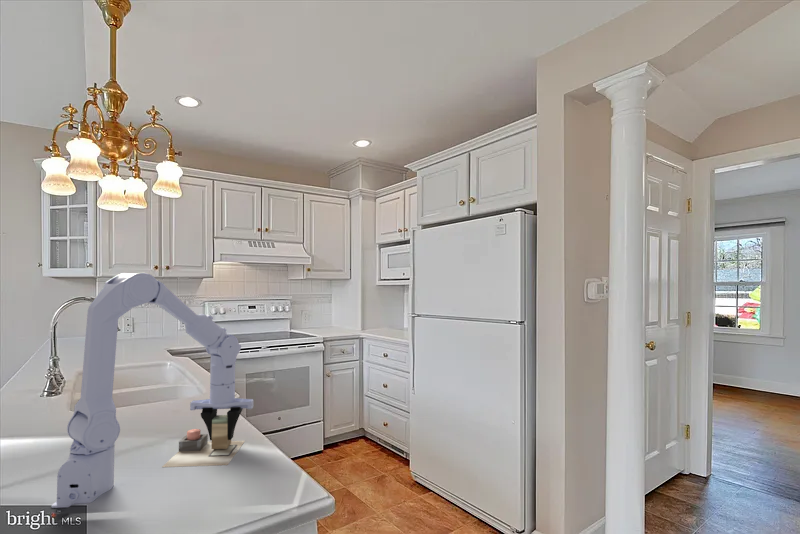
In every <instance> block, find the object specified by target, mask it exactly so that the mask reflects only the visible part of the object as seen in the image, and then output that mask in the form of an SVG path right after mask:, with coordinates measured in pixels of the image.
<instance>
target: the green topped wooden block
mask: <svg viewBox="0 0 800 534" xmlns="http://www.w3.org/2000/svg"><path fill="white" fill-rule="evenodd" d="M231 441H232V439H231V440H228V417H227V414H217V416H216V417H214V418H213V419H212V440H211V442H212V448H211V449H227V448H228V447H229V446H230V444H231Z"/></svg>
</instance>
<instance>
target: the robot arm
mask: <svg viewBox="0 0 800 534" xmlns="http://www.w3.org/2000/svg"><path fill="white" fill-rule="evenodd" d="M145 304H149V305H154V306H155V305H157V306H158V307H160V308H161V309H162V310H164V311H165V312H166V313H168V314H169V315H171V316H173V317H174V318H175V319H176V320H178V321H179V322H180V323H182V324H184V326H185V333H186V334H187V335H189V336H190V337H191V338H192V339H194V340H195V341H196V342H198V343H199V344H200V345H201V346H203V347H204V348H205V350H206V353H207V354H208V355H210V366H209V367H210V369H209V370H210V375H209V377H210V378H209V383H210V384H209V398H206V399H197V400H195V399H193V400H192V401H191V402H190V403H189V405H190V407H189V409H190V411H196V410H201V413H200V417H201V419H202V420H203V422H204V424H205V426H206V429H207V431H208V432H207V433H208V438H209V441H212V419H213V418H214V417H216V416H217V415H218V410H224V409H225V410H228V411H227V412H226V415H227V417H228V440H231V441H232V439H233V438H234V434H235V429H236V425H237V423H238V420H239V417H240V416H241V413H242V411H243V409H247V410H253V408H254V401H255V400H254V399H253V398H239V397H238V398H237V397H236V395H235V394H236V362H237V356H238V355H239V353H240V351H241V349H242V345H241V344H240V342H239V339H238V338H237V337H236V336H235V335H233V334H229V333H227V329H226V328H225V327H221V326H220V325H219V324H217V323H216V322H215V321H214V320H213V319H214V316H212V315H210V314H205V313H197V314H196V313H195V312H194V311H193V310H192V309H191V308H190V307H189V306H188V305H187V304H186V303H184V302H183V301H182V300H181V299H180V298H179V297H178V296H177V295H176V294H174V292H172V291H171V290H170V289H169V288H168V287H167V285H165V283H164V282H162V281H160V280H158V279H156V277H154V275H152V274H150V273H147V272H137V273H127V272H122V273H120V274H117V275H115V276H113V277H112V278H110V279H108V280H107V281H105V282H104V286H103V288H102V289H101V290H100V292H99V293H98V294H97V296H95V298H94V299H93V300H92V302H91V303H90V304H89V306H88V307H87V308H88V309H87V314H86V329H85V339H84V340H85V342H84V353H83V365H82V375H81V376H82V377H81V378H82V379H81V389H80V398H79V400H78V401H76V403H75V404H74V411H73V414H72V416H71V418H70V419H69V421H68V423H67V427H66V432H67V436H69V438H70V439H71V440H73V441H72V443H71V445H70V448H69V456H68V458H67V460H66V461H65V462H64V463H63V464H62V465H61V467H60V468H59V469H58V472H57V479H56V501H55V502H54V503H52V504H51V506H50V507H51V508H52V509H54V508H55V509H57V508H69V507H71V506H72V505H75V504H91V503H92V502H94V501H95V500H96V499H97V498H99V497H100V496H101V495H103V494H105V493H106V492H108V491H110V490H111V489H113V488H114V482H115V481H114V480H115V455H116V454H115V453H116V451H115V449H116V448H115V446H116V442H117V440H118V438H119V436H120V433H121V426H120V423H119V421H118V419H117V408H116V405H115V402H114V398H113V391H114V390H113V389H114V379H115V369H116V368H115V366H116V365H115V364H116V351H117V341H118V340H117V338H118V329H119V328H118V326H119V325H118V324H119V319H120V318H121V317H123V316H124V315H125V314H126V313H128V312H129V311H130V310H132V309H133V308H136V307H139V306H142V305H145Z"/></svg>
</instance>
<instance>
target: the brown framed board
mask: <svg viewBox="0 0 800 534" xmlns="http://www.w3.org/2000/svg"><path fill="white" fill-rule="evenodd" d="M245 442H246V440H231V444H230V446H229V447H228V448H227V449H211V448H212V441H209V433H200V439H199V440H187V434H186V435H185V436H184V437H183V438H181V439H180V440H179V441H178V451H177V452H176V453H175V454H174V455H173V456H172V457H171V458H170V459H168V461H166V462H165V463H164V464H163V465H162V466H161V468H179V467H182V468H183V467H184V468H185V467H209V466H228V465H229V464H230V462H231V461H232V460H233V458H234V457H235V455H236V454H237V453H238V452H239V451H240V449H241V447H243V444H244V443H245Z"/></svg>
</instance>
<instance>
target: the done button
mask: <svg viewBox="0 0 800 534" xmlns="http://www.w3.org/2000/svg"><path fill="white" fill-rule="evenodd" d="M200 434H201V429H198V428H193V429H189V430H187V431H186V435H187V440H199V439H200Z"/></svg>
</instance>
